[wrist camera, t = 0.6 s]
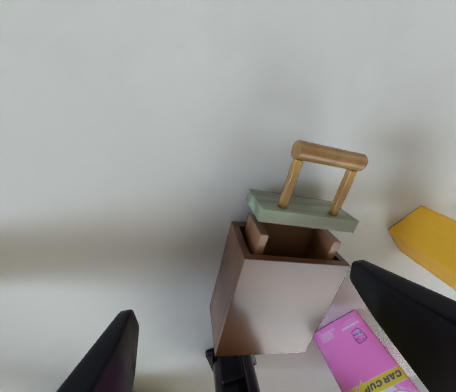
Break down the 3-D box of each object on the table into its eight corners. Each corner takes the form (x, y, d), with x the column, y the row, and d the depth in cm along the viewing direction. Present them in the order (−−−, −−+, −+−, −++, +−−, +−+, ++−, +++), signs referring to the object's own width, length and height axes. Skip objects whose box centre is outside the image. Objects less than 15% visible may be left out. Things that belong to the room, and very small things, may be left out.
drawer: (264, 130, 19) (284, 137, 15) (353, 149, 21) (389, 160, 17) (223, 280, 25) (230, 312, 21) (295, 283, 27) (312, 313, 23)
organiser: (231, 221, 23) (244, 258, 17) (316, 231, 25) (351, 266, 20) (209, 306, 27) (214, 356, 22) (283, 307, 30) (304, 352, 24)
